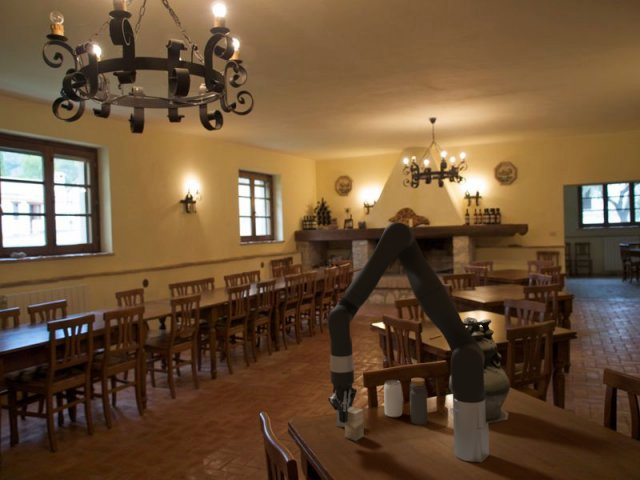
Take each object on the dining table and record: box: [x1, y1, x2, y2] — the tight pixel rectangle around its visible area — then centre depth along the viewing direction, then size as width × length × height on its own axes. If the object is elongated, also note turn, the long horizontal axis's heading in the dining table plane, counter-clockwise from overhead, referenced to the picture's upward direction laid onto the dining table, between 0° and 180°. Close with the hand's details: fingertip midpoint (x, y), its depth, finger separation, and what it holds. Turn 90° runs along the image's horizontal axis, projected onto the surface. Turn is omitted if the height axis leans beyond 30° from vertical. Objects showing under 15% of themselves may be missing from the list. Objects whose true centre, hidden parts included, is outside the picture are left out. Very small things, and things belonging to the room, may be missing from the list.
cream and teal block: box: [344, 406, 365, 442], centre depth 164 cm, size 4×4×9 cm
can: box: [383, 379, 403, 418], centre depth 184 cm, size 6×6×12 cm
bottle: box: [409, 377, 428, 426], centre depth 176 cm, size 6×6×15 cm
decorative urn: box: [448, 316, 511, 424], centre depth 180 cm, size 21×21×35 cm
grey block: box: [336, 404, 354, 428], centre depth 175 cm, size 4×4×9 cm
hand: (343, 421), depth 160 cm, fingers closed
